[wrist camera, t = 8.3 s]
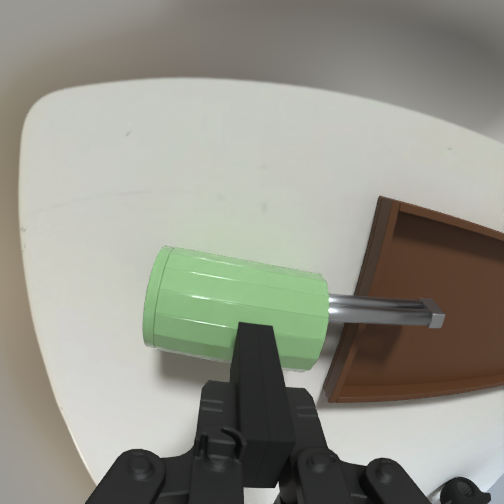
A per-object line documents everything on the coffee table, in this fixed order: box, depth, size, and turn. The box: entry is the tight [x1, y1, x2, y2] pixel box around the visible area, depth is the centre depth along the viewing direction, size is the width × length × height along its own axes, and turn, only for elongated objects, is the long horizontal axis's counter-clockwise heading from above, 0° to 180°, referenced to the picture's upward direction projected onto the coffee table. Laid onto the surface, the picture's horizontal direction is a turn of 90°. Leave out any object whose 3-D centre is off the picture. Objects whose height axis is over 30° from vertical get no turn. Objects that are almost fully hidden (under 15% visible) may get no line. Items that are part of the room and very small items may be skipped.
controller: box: [440, 477, 491, 504], centre depth 27 cm, size 4×12×10 cm, turn 65°
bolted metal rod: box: [328, 294, 445, 328], centre depth 18 cm, size 2×1×16 cm
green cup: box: [143, 246, 329, 372], centre depth 17 cm, size 6×6×9 cm
